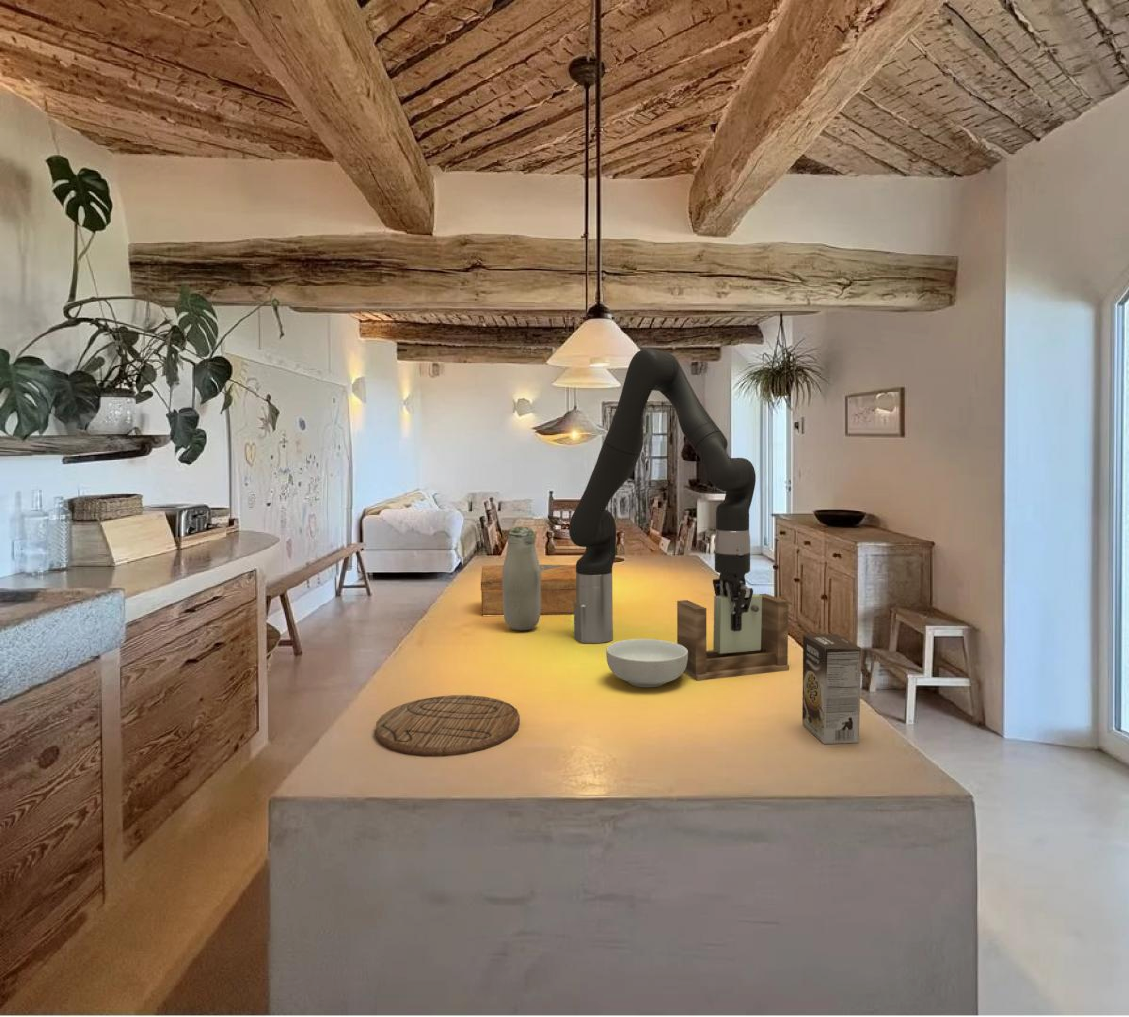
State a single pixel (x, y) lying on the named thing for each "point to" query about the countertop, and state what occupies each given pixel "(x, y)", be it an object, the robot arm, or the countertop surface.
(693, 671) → the brown wooden stand
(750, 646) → the door panel
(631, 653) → the cereal bowl
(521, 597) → the grey green bottle
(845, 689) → the coffee box
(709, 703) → the countertop surface
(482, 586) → the wooden box
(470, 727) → the trivet
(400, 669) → the countertop surface
